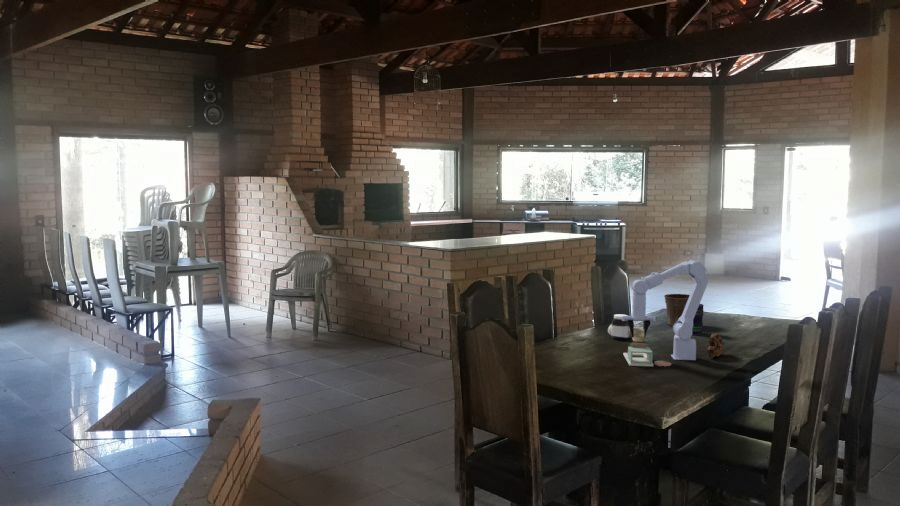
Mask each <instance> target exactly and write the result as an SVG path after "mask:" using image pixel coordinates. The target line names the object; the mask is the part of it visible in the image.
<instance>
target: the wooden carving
mask: <svg viewBox="0 0 900 506" xmlns="http://www.w3.org/2000/svg"><path fill="white" fill-rule="evenodd" d="M708 343H709V346H707V354H708V358H715V357H720V356H721V355H722V353H723V351H724V347H723V345H724V343H725V342H724V341H723V338H722V336H721V334H719V333H718V334H716V333H715V334H711V335H710V337H708Z"/></svg>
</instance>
